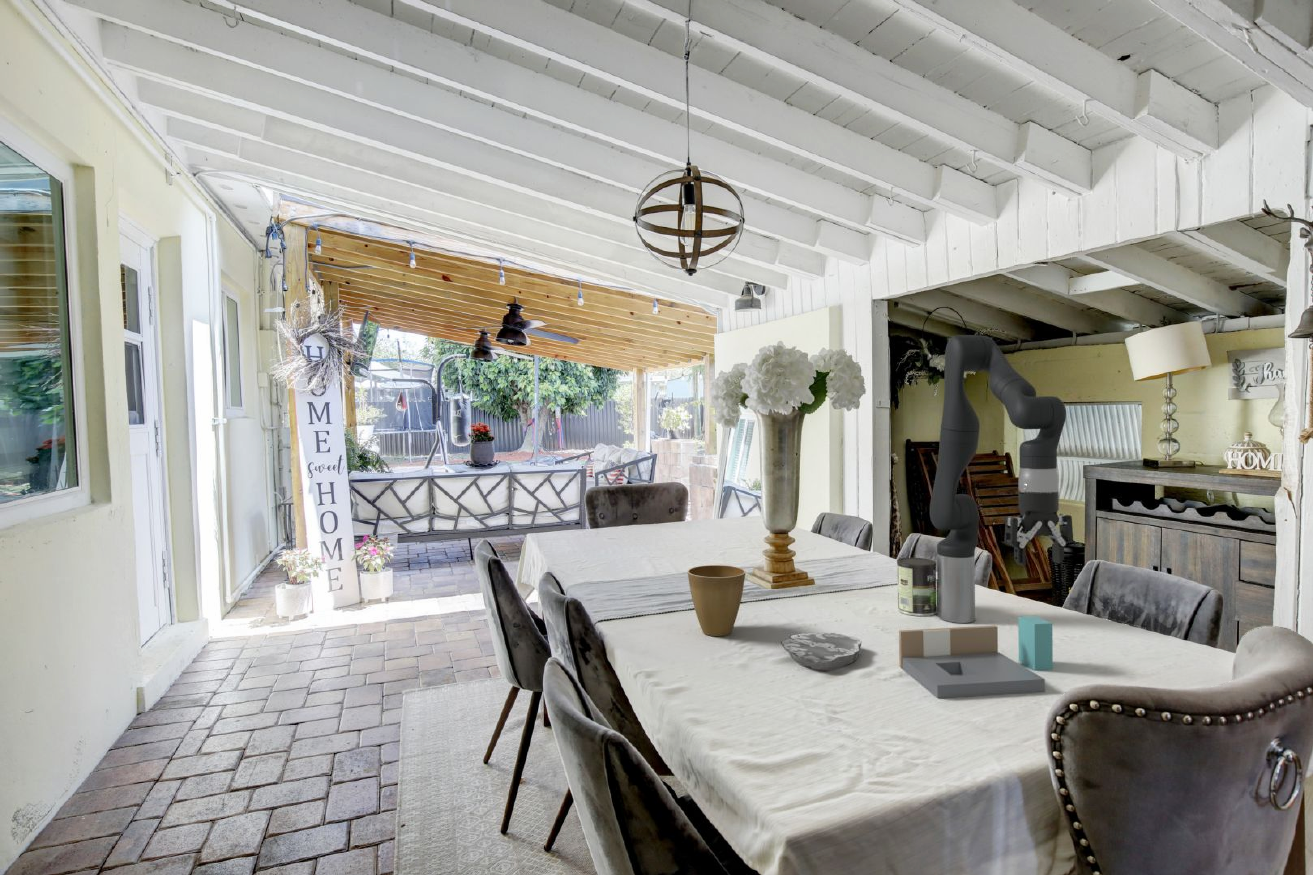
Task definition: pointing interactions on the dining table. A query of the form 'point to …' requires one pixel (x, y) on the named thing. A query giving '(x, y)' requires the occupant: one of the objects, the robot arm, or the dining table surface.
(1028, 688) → the socket plate
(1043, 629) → the teal block
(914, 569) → the coffee can
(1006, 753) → the dining table surface
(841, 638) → the brain slice
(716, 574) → the plant pot
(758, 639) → the dining table surface
